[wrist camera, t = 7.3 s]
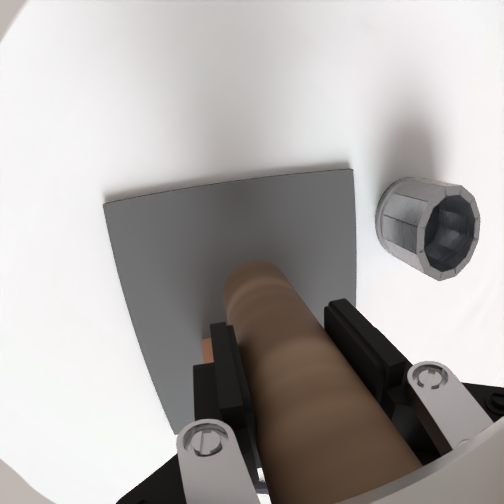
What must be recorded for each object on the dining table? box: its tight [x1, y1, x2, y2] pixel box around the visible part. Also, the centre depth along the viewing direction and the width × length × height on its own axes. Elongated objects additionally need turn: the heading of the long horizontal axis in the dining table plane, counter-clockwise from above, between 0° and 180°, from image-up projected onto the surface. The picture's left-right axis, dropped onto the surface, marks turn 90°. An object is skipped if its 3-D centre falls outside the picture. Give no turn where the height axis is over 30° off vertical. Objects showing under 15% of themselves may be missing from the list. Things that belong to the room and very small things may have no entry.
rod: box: [223, 261, 423, 504], centre depth 9 cm, size 3×3×14 cm
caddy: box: [375, 178, 480, 281], centre depth 20 cm, size 6×6×5 cm
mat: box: [103, 169, 356, 435], centre depth 22 cm, size 20×16×1 cm
